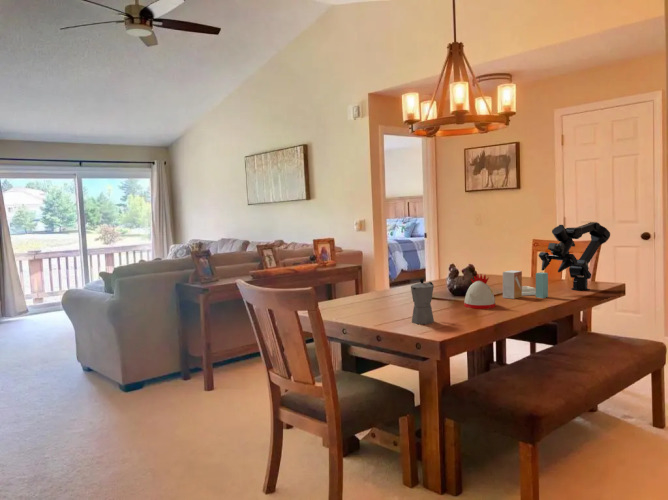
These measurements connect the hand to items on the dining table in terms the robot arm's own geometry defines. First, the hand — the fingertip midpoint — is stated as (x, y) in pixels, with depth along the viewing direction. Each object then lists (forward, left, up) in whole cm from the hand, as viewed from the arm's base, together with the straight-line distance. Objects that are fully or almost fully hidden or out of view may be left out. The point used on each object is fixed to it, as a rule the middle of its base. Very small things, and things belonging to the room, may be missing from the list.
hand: (550, 271), depth 259 cm
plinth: (+6, -12, -12) cm, 18 cm away
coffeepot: (+82, +20, -13) cm, 86 cm away
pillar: (+6, +1, -12) cm, 14 cm away
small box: (+18, -6, -13) cm, 23 cm away
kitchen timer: (+44, +4, -13) cm, 46 cm away
